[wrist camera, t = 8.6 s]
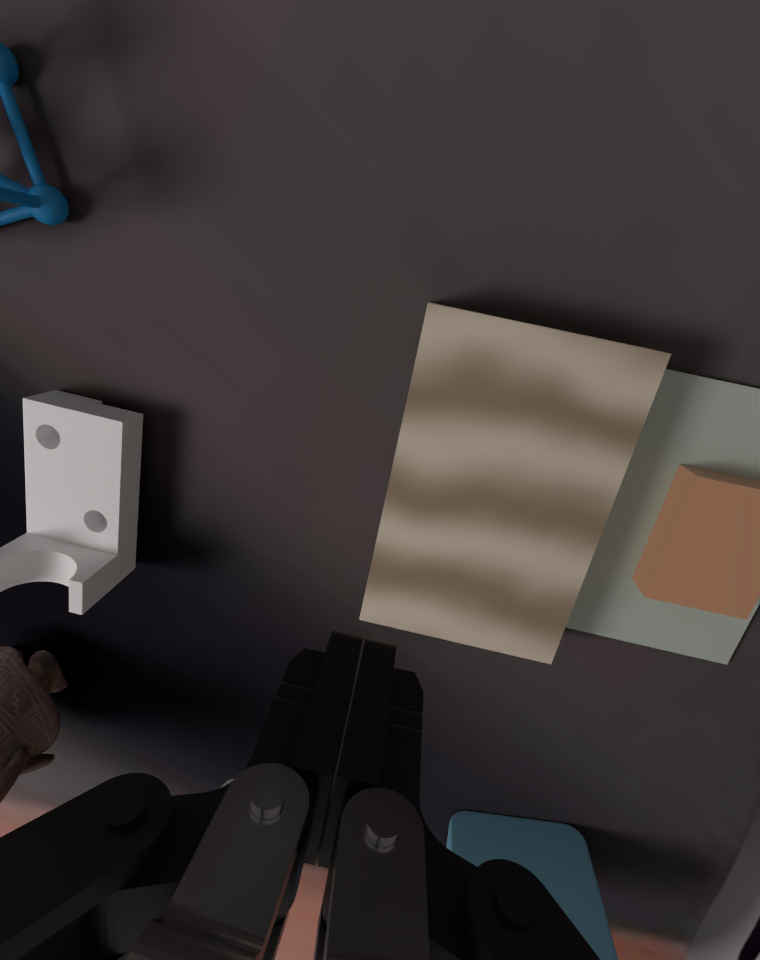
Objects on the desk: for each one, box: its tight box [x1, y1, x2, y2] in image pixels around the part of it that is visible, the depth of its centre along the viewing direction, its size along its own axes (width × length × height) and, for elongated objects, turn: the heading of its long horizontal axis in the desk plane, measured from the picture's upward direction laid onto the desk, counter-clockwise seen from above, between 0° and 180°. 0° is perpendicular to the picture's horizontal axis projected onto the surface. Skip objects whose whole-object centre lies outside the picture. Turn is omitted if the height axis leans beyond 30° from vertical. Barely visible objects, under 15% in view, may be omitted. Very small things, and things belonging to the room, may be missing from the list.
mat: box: [566, 369, 760, 665], centre depth 36 cm, size 20×14×1 cm
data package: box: [446, 811, 618, 960], centre depth 42 cm, size 12×4×12 cm, turn 87°
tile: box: [632, 464, 760, 620], centre depth 35 cm, size 9×7×2 cm
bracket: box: [0, 390, 143, 615], centre depth 37 cm, size 13×7×8 cm, turn 168°
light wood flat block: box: [359, 302, 671, 664], centre depth 35 cm, size 22×14×4 cm, turn 169°
